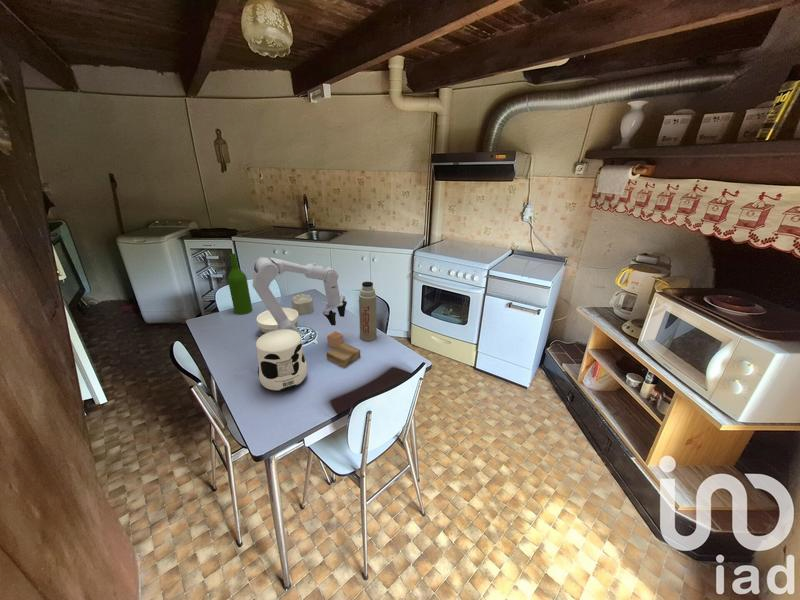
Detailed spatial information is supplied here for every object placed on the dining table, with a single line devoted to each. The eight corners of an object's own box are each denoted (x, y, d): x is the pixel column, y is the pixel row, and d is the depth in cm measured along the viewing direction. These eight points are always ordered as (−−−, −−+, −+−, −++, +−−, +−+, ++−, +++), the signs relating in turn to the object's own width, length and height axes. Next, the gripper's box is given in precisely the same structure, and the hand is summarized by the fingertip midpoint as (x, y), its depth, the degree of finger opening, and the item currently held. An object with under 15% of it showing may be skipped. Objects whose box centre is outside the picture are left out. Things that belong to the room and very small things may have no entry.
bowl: (305, 324, 159) (304, 308, 156) (290, 343, 142) (288, 326, 139) (270, 321, 161) (268, 306, 157) (251, 340, 144) (248, 323, 140)
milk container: (282, 362, 128) (276, 324, 121) (317, 372, 123) (313, 333, 116) (249, 387, 113) (241, 345, 106) (287, 400, 108) (281, 357, 101)
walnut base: (344, 368, 126) (343, 360, 125) (327, 360, 131) (326, 352, 130) (360, 357, 134) (360, 349, 132) (343, 350, 139) (343, 342, 137)
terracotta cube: (335, 348, 139) (334, 338, 137) (327, 344, 142) (327, 335, 140) (343, 343, 143) (342, 334, 141) (335, 340, 146) (335, 331, 144)
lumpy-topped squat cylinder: (296, 316, 167) (294, 301, 164) (290, 307, 177) (288, 293, 174) (315, 312, 172) (314, 298, 169) (308, 304, 182) (307, 290, 179)
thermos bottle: (370, 343, 144) (370, 287, 133) (356, 338, 148) (355, 284, 136) (379, 335, 151) (379, 282, 140) (365, 331, 154) (365, 278, 143)
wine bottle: (255, 310, 172) (245, 253, 159) (240, 316, 165) (229, 257, 152) (246, 306, 176) (235, 251, 163) (231, 312, 169) (219, 254, 156)
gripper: (331, 302, 127) (337, 330, 133) (348, 287, 138) (353, 313, 145) (317, 300, 129) (323, 328, 135) (335, 286, 141) (340, 311, 147)
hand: (337, 320), depth 140 cm, fingers open, 7 cm apart
